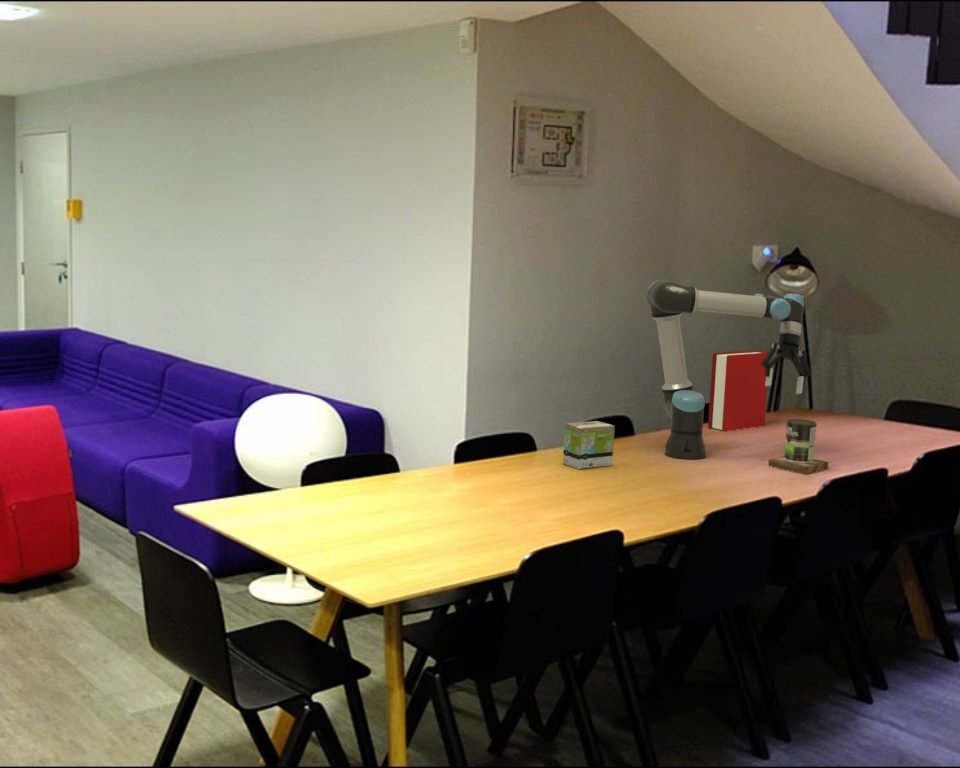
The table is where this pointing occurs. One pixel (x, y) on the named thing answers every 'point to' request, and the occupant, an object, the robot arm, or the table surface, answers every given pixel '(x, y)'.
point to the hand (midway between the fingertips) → (783, 389)
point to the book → (737, 390)
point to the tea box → (588, 444)
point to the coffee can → (800, 441)
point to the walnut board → (798, 465)
